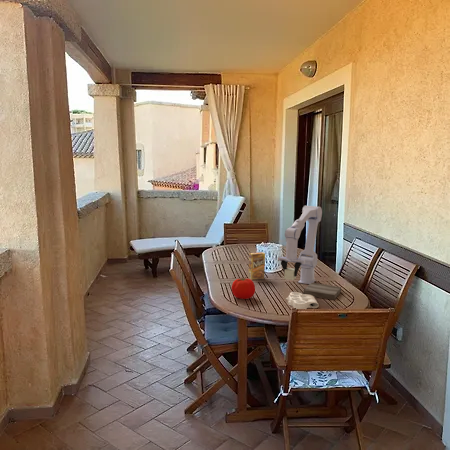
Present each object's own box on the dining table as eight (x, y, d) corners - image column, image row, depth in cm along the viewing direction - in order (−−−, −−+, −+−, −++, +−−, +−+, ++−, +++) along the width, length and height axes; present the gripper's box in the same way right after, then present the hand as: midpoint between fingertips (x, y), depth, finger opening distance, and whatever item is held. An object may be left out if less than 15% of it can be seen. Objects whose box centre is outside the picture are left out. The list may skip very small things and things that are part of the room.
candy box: (251, 280, 237) (252, 254, 235) (248, 278, 241) (248, 252, 239) (264, 278, 241) (265, 253, 239) (261, 276, 245) (261, 251, 242)
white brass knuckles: (320, 311, 190) (288, 310, 190) (312, 298, 207) (283, 298, 207) (320, 304, 189) (288, 303, 189) (312, 292, 207) (283, 291, 207)
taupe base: (311, 286, 226) (311, 282, 226) (340, 291, 219) (341, 287, 219) (303, 294, 212) (303, 290, 212) (334, 299, 205) (334, 295, 205)
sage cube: (287, 276, 221) (287, 267, 220) (296, 278, 219) (296, 269, 218) (284, 279, 217) (284, 269, 216) (293, 280, 215) (293, 271, 214)
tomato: (253, 294, 210) (254, 275, 209) (256, 301, 199) (256, 281, 198) (230, 294, 210) (230, 274, 208) (231, 301, 199) (232, 281, 197)
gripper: (276, 250, 215) (275, 275, 217) (302, 253, 209) (301, 279, 211) (280, 247, 222) (279, 272, 224) (306, 250, 215) (305, 275, 217)
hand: (290, 275), depth 218 cm, fingers closed on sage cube, 5 cm apart
